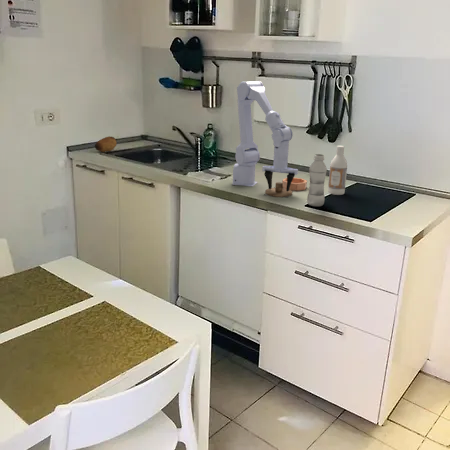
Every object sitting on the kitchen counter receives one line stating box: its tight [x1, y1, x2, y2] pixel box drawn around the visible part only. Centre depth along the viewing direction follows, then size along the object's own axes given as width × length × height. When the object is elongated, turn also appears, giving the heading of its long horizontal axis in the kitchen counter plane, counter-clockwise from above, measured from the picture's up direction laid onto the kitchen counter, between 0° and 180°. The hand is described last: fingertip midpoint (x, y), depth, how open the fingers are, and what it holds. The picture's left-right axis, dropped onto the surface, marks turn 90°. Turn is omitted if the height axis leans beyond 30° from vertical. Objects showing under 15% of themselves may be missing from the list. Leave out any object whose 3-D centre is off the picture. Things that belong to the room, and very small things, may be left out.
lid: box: [264, 181, 293, 198], centre depth 217 cm, size 11×11×4 cm
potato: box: [94, 135, 117, 153], centre depth 290 cm, size 8×13×8 cm
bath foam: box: [327, 145, 348, 196], centre depth 219 cm, size 7×7×20 cm
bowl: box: [281, 177, 308, 192], centre depth 227 cm, size 10×10×4 cm
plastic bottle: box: [306, 153, 328, 207], centre depth 201 cm, size 6×7×20 cm
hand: (278, 189), depth 218 cm, fingers open, 7 cm apart
